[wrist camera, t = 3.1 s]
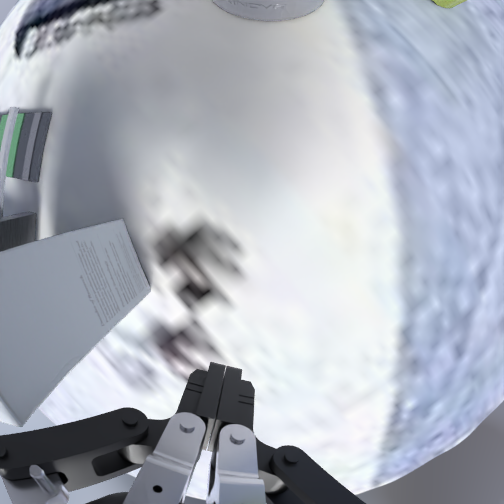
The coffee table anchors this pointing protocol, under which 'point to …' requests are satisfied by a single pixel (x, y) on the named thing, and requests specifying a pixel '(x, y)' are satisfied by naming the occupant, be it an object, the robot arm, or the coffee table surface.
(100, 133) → the coffee table surface
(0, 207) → the grey l-shaped bracket
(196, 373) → the robot arm
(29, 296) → the skincare box
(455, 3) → the plant pot
